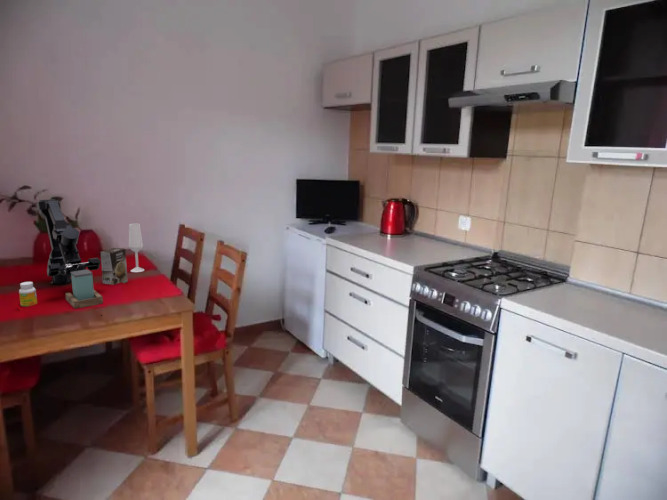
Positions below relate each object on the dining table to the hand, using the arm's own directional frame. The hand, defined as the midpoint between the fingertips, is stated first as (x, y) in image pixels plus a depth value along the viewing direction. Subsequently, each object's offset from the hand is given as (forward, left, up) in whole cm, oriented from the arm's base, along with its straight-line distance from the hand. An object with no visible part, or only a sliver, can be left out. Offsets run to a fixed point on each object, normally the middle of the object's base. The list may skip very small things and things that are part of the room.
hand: (80, 284), depth 177 cm
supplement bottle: (-15, -9, -8) cm, 19 cm away
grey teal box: (+3, -2, -6) cm, 7 cm away
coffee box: (+1, +24, -8) cm, 25 cm away
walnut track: (+3, -3, -7) cm, 8 cm away
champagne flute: (-1, +46, -8) cm, 47 cm away
